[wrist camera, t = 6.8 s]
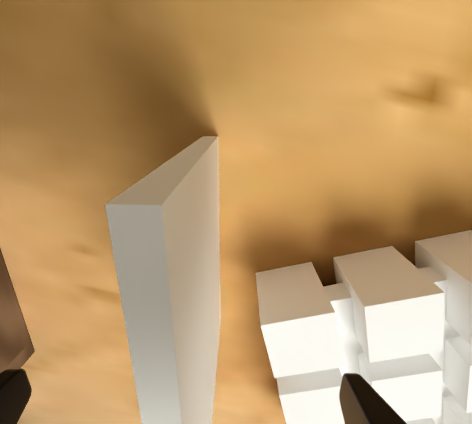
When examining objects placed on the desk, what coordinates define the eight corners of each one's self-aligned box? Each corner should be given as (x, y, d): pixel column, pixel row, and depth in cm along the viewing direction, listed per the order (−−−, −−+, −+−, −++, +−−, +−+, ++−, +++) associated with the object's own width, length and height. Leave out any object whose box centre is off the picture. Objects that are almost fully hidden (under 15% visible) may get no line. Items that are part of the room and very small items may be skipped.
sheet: (220, 320, 18) (197, 589, 8) (209, 320, 18) (169, 589, 8) (218, 136, 14) (161, 204, 4) (203, 136, 14) (105, 204, 4)
